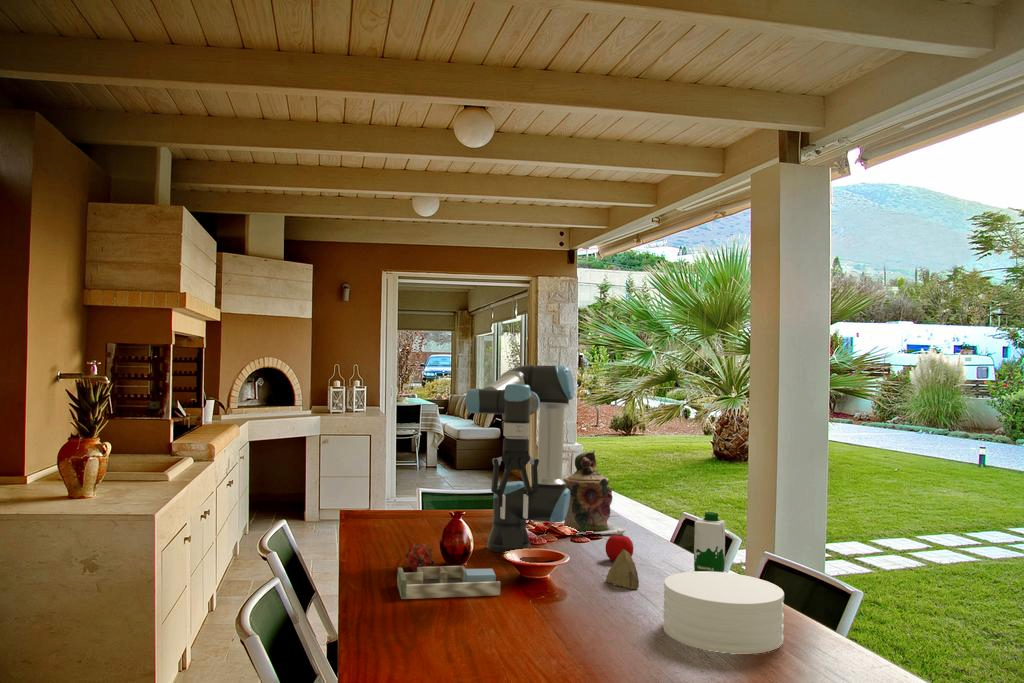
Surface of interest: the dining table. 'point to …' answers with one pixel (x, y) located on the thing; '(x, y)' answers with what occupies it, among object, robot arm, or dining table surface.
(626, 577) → the rock
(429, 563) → the dragon fruit
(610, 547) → the fruit
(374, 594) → the dining table surface
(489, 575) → the block
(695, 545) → the milk carton
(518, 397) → the robot arm
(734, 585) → the plate stack
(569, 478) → the cookie jar
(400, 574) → the tray
